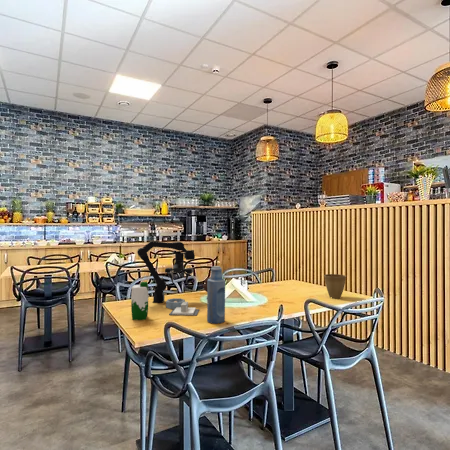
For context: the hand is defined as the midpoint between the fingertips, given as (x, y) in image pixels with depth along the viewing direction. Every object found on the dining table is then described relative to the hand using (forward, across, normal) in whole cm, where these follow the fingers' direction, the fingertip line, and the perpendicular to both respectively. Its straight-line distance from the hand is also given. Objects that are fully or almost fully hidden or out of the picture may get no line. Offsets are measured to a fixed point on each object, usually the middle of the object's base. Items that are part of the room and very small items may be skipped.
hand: (179, 283), depth 229 cm
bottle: (+12, +31, -44) cm, 55 cm away
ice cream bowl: (+12, +20, +8) cm, 25 cm away
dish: (+12, +2, -17) cm, 21 cm away
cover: (+12, +10, -29) cm, 33 cm away
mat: (+12, +10, -29) cm, 33 cm away
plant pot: (+12, +109, +23) cm, 112 cm away
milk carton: (+12, -12, -43) cm, 47 cm away
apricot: (+10, +2, -17) cm, 19 cm away
